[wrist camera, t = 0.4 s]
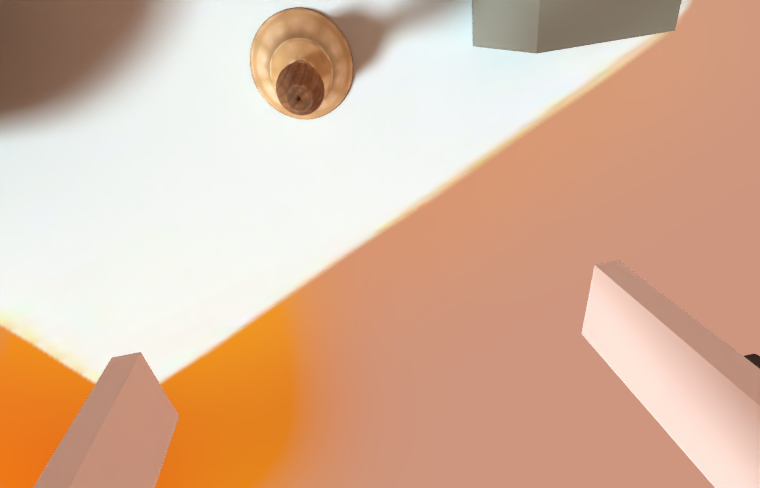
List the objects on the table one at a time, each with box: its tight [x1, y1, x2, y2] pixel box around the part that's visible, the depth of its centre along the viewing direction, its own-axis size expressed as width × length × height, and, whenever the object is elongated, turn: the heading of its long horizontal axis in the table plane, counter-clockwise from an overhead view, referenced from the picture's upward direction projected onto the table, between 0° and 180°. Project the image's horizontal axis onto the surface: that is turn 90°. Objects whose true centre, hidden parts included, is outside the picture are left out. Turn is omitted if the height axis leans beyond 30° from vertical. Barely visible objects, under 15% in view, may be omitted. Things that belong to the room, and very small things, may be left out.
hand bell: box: [250, 8, 353, 119], centre depth 25 cm, size 8×8×16 cm
